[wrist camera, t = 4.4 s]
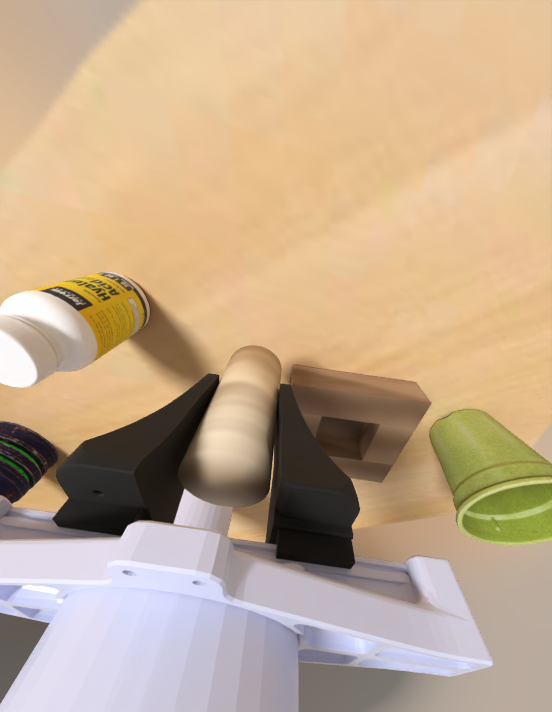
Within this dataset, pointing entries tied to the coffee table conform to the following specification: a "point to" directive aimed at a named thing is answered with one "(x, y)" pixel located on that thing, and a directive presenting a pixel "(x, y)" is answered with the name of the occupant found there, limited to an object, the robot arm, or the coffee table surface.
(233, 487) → the pin
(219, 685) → the robot arm
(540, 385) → the coffee table surface
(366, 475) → the socket block
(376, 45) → the coffee table surface
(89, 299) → the supplement bottle
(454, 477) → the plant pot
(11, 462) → the storage jar
